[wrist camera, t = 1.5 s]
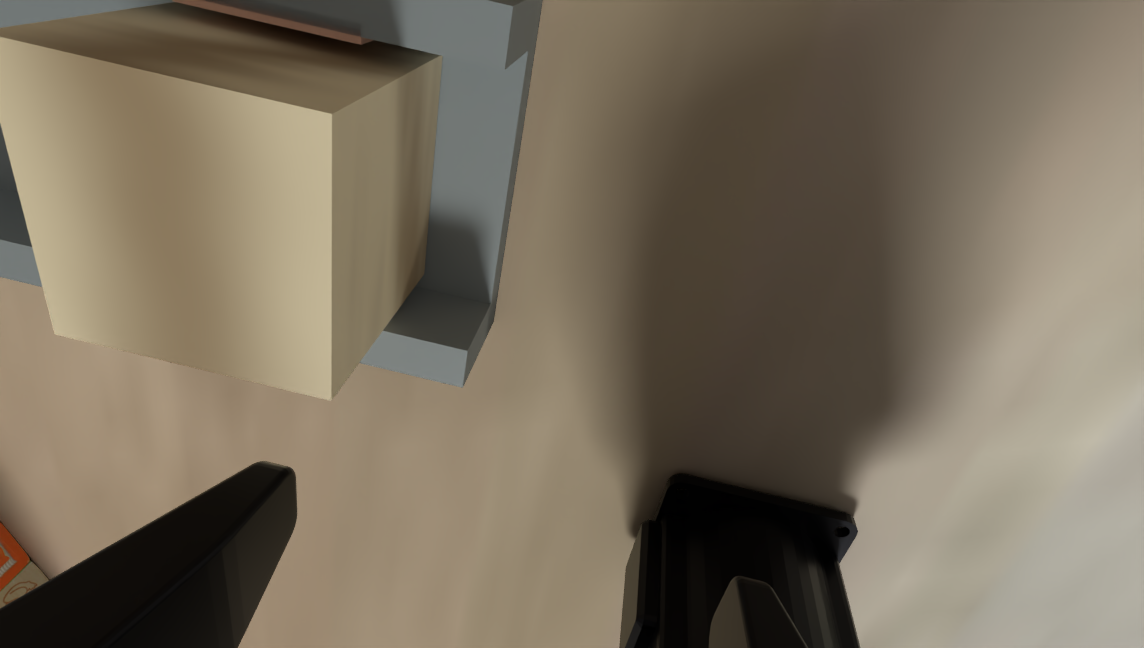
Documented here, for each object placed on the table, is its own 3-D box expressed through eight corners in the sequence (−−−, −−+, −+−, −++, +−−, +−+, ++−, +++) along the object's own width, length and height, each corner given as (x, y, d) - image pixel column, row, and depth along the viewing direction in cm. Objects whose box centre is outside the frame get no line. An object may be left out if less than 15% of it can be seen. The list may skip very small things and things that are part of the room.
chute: (543, -9, 16) (512, 6, 13) (493, 322, 21) (462, 387, 18) (-258, -192, 16) (-467, -219, 13) (-122, 175, 21) (-254, 216, 18)
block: (442, 54, 16) (332, 113, 11) (423, 274, 19) (331, 401, 14) (199, -2, 16) (-24, 31, 11) (220, 226, 19) (55, 334, 14)
